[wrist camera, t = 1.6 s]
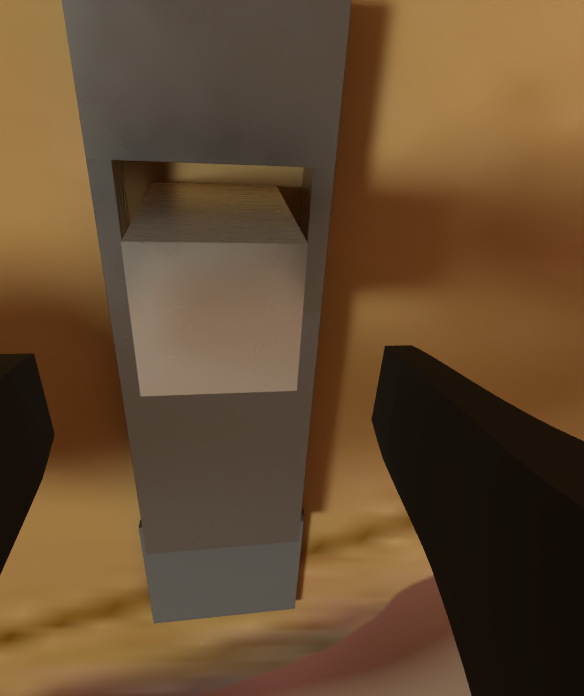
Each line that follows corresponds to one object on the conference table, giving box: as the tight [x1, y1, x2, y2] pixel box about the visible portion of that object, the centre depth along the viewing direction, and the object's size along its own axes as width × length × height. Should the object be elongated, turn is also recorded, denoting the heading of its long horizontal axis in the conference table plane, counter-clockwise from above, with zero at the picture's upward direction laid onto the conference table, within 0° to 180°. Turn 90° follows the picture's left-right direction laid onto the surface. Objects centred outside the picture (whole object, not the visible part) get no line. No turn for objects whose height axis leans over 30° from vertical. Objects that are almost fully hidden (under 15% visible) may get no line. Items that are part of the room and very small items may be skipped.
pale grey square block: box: [121, 182, 308, 396], centre depth 16 cm, size 4×4×7 cm
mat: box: [139, 508, 304, 623], centre depth 28 cm, size 9×9×1 cm
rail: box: [62, 0, 351, 554], centre depth 20 cm, size 8×24×2 cm, turn 177°
